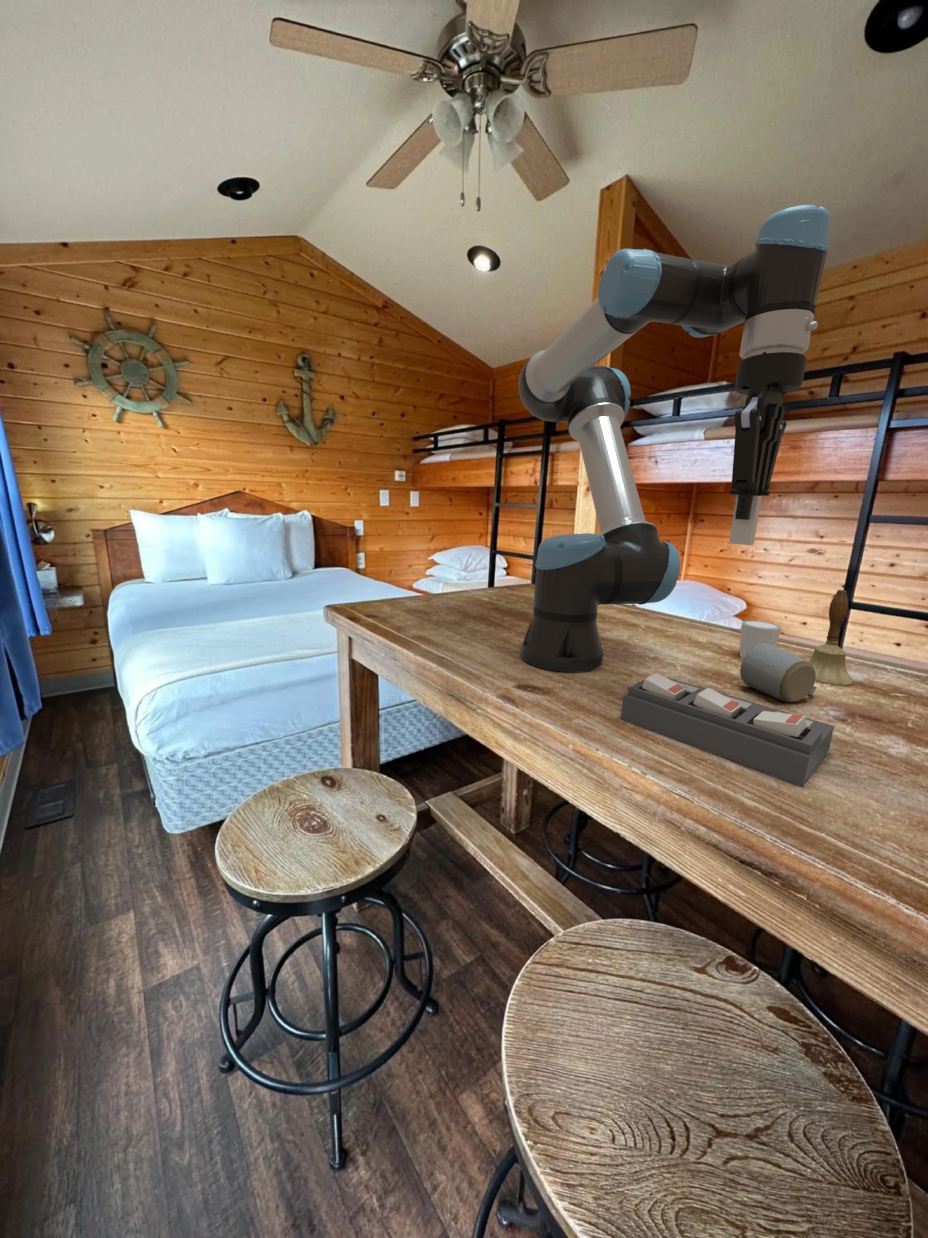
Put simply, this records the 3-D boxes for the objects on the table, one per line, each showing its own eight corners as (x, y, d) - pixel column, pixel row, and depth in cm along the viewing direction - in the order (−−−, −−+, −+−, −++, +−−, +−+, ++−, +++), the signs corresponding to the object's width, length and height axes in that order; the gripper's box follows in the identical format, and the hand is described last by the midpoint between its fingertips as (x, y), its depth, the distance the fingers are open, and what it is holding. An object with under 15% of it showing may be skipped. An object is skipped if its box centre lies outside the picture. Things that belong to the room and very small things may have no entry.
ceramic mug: (779, 707, 76) (790, 659, 74) (735, 687, 83) (743, 643, 81) (828, 701, 79) (840, 655, 77) (782, 683, 87) (791, 640, 85)
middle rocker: (693, 703, 64) (697, 693, 63) (704, 696, 66) (708, 686, 66) (727, 722, 61) (732, 712, 60) (737, 714, 63) (742, 704, 63)
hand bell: (834, 688, 84) (855, 596, 80) (786, 672, 92) (804, 587, 88) (863, 682, 88) (885, 593, 84) (815, 667, 95) (833, 585, 91)
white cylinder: (728, 652, 102) (734, 619, 101) (759, 652, 103) (765, 620, 101) (750, 664, 96) (757, 628, 94) (783, 663, 96) (790, 629, 95)
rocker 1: (641, 687, 69) (645, 678, 68) (654, 681, 71) (657, 672, 70) (671, 703, 66) (675, 694, 65) (683, 696, 68) (686, 687, 68)
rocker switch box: (620, 718, 70) (624, 688, 69) (659, 697, 78) (663, 669, 77) (802, 787, 54) (811, 748, 53) (828, 751, 62) (836, 717, 61)
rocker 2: (754, 730, 59) (753, 718, 59) (763, 722, 61) (763, 710, 61) (797, 736, 56) (797, 723, 55) (806, 727, 58) (805, 714, 58)
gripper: (791, 339, 56) (755, 549, 62) (819, 362, 65) (785, 544, 71) (722, 351, 61) (694, 543, 67) (756, 371, 70) (729, 539, 76)
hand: (741, 543), depth 69 cm, fingers closed
